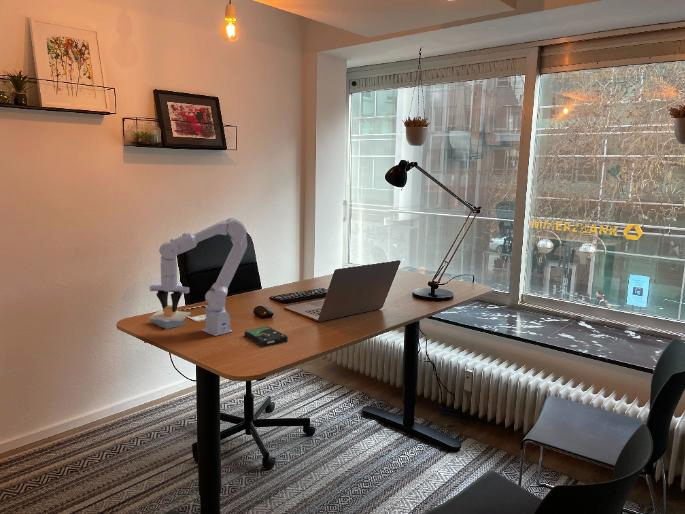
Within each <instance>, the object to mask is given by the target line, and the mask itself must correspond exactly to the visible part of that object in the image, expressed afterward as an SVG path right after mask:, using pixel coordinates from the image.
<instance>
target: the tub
mask: <svg viewBox="0 0 685 514" xmlns="http://www.w3.org/2000/svg"><path fill="white" fill-rule="evenodd" d="M152 315H153V314H152ZM152 315H150V316H152ZM149 322H152V323H154V324H156V325H158V326H157V327H159V326H160V327H159V328H161V327H162V328H161V329H163V328H165V329H167V330H170V329H169V328H171V329H174V328H173V327H176V328H179V327H178V326H180V327H183V326H182V325H184V326H185V319H184V320H182V321H172V320H157V319H149ZM152 323H151V324H152ZM154 324H153V325H154ZM156 325H155V326H156ZM165 329H164V330H165Z"/></svg>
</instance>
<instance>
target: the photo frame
mask: <svg viewBox="0 0 685 514" xmlns="http://www.w3.org/2000/svg"><path fill="white" fill-rule="evenodd" d="M201 306H202V305H199V306H198V307H199V308H202V307H201ZM203 306H205V307H206V306H207V305H203ZM196 307H197V306H194V307H193V308H194V309H197V308H196ZM205 307H204V308H205ZM191 308H192V307H190V308H188V309H189V310H192V309H191ZM184 309H185V310H184V311H187V310H186V309H187V308H184ZM187 317H188V318H187ZM187 317H186V318H187V319H189V318H190V319H189V320H191V319H192V321H194V322H196V321H198V322H202V321H206V320H205V319H206V313H205V314H201V315H197V316H190V315H189V316H187ZM201 320H202V321H201Z"/></svg>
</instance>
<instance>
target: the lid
mask: <svg viewBox="0 0 685 514" xmlns="http://www.w3.org/2000/svg"><path fill="white" fill-rule="evenodd" d="M191 314H192V312H189V311H178V310H177V311H175V312H173V311H172V305H170V304H169V305H168V306H166V307H165V308H164V311H163V309H162V310H161V309H160V310H158V311H156V312H155V313H154V314H152V316H151V315H149V317H148V319H149V320H150V319H157V320H172V321H182V320H184V321H185V319H186V318H187V316H189V317H190V315H191Z"/></svg>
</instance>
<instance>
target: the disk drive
mask: <svg viewBox="0 0 685 514" xmlns="http://www.w3.org/2000/svg"><path fill="white" fill-rule="evenodd" d="M245 336H246V338H247V339H250V341H252V340H253V342H254V341H255V342H254V343H256V344H258V345H260V346H261V347H263V348H264V347H265V346H266V347H270V345H271V346H274V344H275V345H279V343H280V344H285V343H288V340H289V339H288V336H289V335H286V334H284V333H282V332H280V331H279V330H276V329H274V328H272V327H270V326H268V325H267V326H261V327H255V328H253V329H249V330H247V329H245V331H244V337H245ZM266 347H265V348H266Z"/></svg>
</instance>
